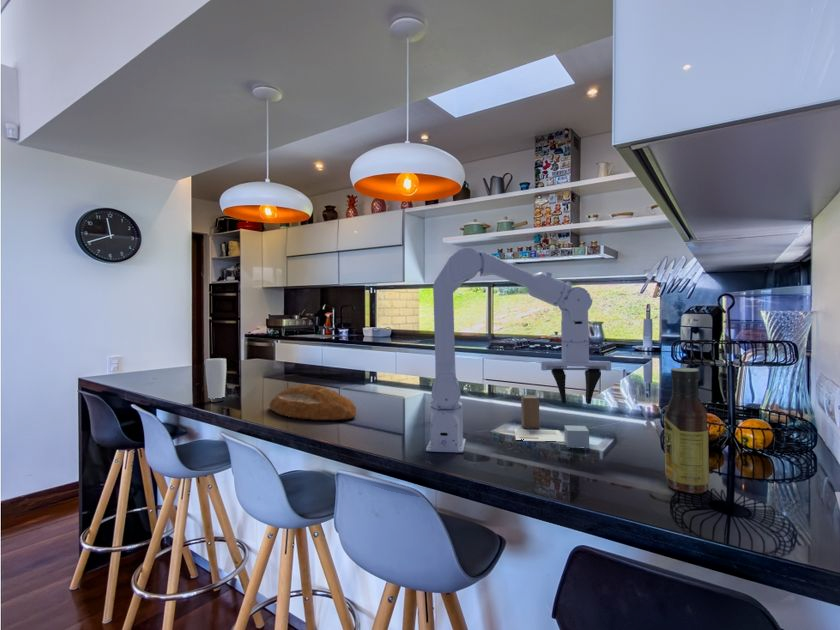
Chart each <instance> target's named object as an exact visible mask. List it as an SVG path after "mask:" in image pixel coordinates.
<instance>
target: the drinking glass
mask: <svg viewBox="0 0 840 630" xmlns="http://www.w3.org/2000/svg"><path fill="white" fill-rule="evenodd" d="M204 365H205V366H204V367H205V368H204V369H205V370H204V371H205V379H206V388H207V398H210V399H212V398H213V399H215V398H222V397H225V398H226V383H227V358H225V357H223V358H222V357H218V358H217V357H216V358H206V359H205V364H204Z"/></svg>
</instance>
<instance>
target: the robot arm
mask: <svg viewBox="0 0 840 630" xmlns="http://www.w3.org/2000/svg"><path fill="white" fill-rule="evenodd" d="M479 272H480V274H479V276H480V277H485V276H487V277H488V276H496V277H498V278H501V279H503V280H506V281H509V282H512V283H514V284H517V285H519V286H522V287H524V288H526V289H527V292H528V294H529V296H530V297H533V298H535V299H537V300H540V301H542V302H544V303H546V304H549V305H551V306H553V307H558V308H559V310H560V312H561V322H560V324H561V325H560V329H561V330H560V331H561V335H560V338H561V360H560V359H559V360H541V361H540V366H541V367H540V368H541V371H551V374H552V376H553V377H554V380H555V383H556V385H557V389H558V392H559V395H560V401H561V404H563V405H566V404H567V396H566V395H567V394H566V377H567V376H566V372H565V371H584V375H585V403H586V404H587V405H591V404H592V400H593V395H594V392H595V388H596V386H597V384H598V382H599V380H600V379H601V375H602V372H601V371H607V372H610V371H612V362H611V361H609V360H590V346H589V345H590V343H589V342H590V338H589V337H590V334H589V331H590V330H589V326H590V325H589V310H590V309H591V307H592V304H593V299H592V298H591V295H590V293H589V291H588V290H586V288H584V287H581V286H574V287H573V286H572V285H573V282H570V281H569V280H568V281H563V280H560V279H558V278H556V277H554V276H553V273H552V272H550V271H545V272H543V271H540V272H536V273H534V274H532V273H531V272H528V271H526V270H524V269H522V268H520V267H519V266H518V267H517V266H516V265H513V264H511V263H509V262H507V261H505V260H503V259H501V258H499V257H497V256H495V255H491V254H490V253H487V252H484V251H479V252H478V251H477V250H476V249H474V248H472V247H463V248H461V249H458V251H456V252H455V253H453V254H452V255H451V256H450V257H449V258H448V259H447V261H446V263H445V265H444V266H443V268H442V269H441V271H440V272H439V274H438V276H437V277H436V279H435V280H434V282H433V286H432V290H433V293H432V294H433V297H432V298H433V318H434V319H433V323H434V324H433V325H434V327H433V329H434V330H433V331H434V332H433V333H434V354H435V356H434V357H435V359H434V360H435V361H434V362H435V370H434V371H435V372H434V373H435V378H434V380H433V382H432V388H431V398H432V401H430V403H429V404H430V405H429V406H430V407H429V409H430V411H429V412H430V415H429V416H430V418H429V419H430V423H429V429H430V430H429V435H430V437H429V438H430V439H429V442H428V444H427V446H426V448H425V451H426V452H432V453H433V452H435V453H436V452H437V453H463V452H464V451H465V445H466V440H467V439H466V438H464V436H463V435H464V432H463V431H464V430H463V429H464V427H463V422H464V421H463V403H462V402H461V401H460V399H461V395H462V394H461V393H462V392H461V387H460V381H459V380H458V378H457V377H456V376H457V375H456V374H457V372H456V350H455V349H456V348H455V342H456V341H455V317H454V316H455V315H454V313H455V311H454V310H455V309H454V293H455V292H456V291H457V290H458V289H459V288H460V287H461V285H462V284H463V283H465V282H468V281H470V280H472V279H473V278H475V277H476V276H477V274H478V273H479Z"/></svg>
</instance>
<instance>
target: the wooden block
mask: <svg viewBox="0 0 840 630" xmlns="http://www.w3.org/2000/svg"><path fill="white" fill-rule="evenodd" d="M520 401H521V402H520V406H521V407H520V409H521V413H520V414H521V419H520V420H521V426H522V427H523V429H525V430H540V426H541V425H540V421H541V420H540V398H539V397H538V396H537V395H535V394H532V395H531V394H529V395H528V394H523V395H521V397H520Z"/></svg>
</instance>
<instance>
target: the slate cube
mask: <svg viewBox="0 0 840 630" xmlns="http://www.w3.org/2000/svg"><path fill="white" fill-rule="evenodd" d="M563 427H564V436H563V438H564V440H565V442H564V444H565V446H566V445H567V446H566V448H567V447H584V448H589V449H590V431H589V429H588V428H587V426H586V425H568V424H567V425H563Z"/></svg>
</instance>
